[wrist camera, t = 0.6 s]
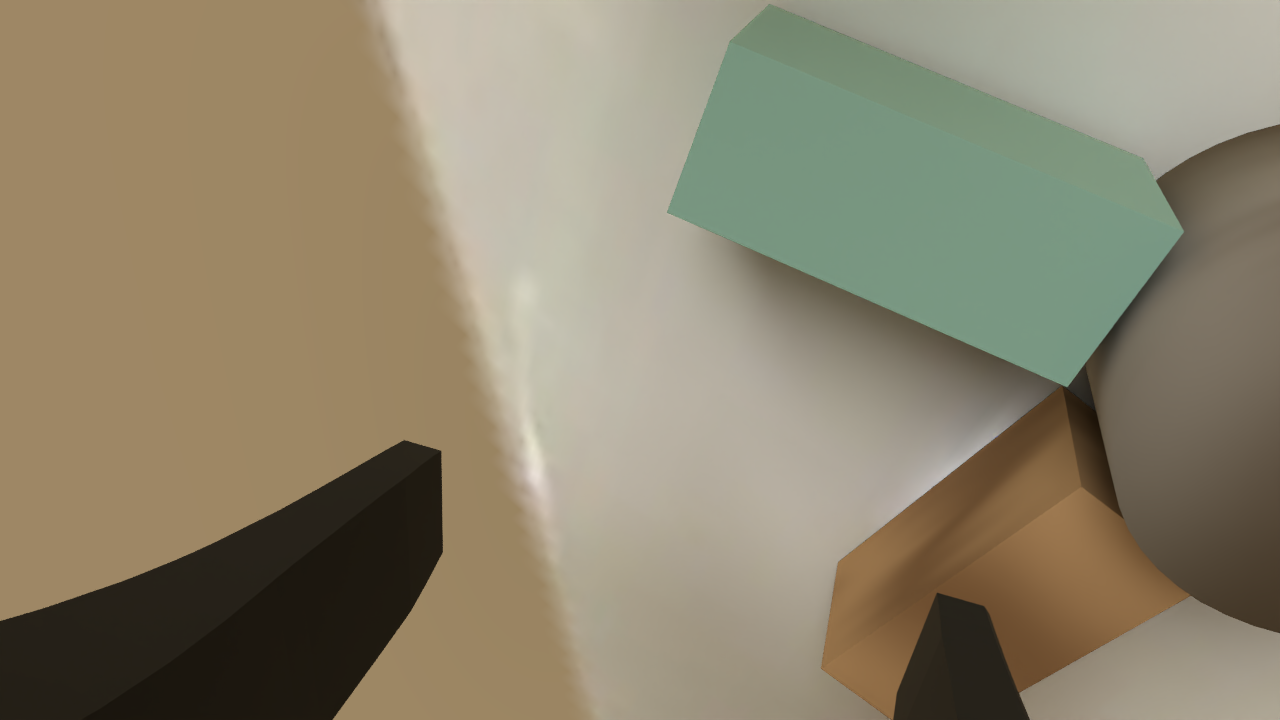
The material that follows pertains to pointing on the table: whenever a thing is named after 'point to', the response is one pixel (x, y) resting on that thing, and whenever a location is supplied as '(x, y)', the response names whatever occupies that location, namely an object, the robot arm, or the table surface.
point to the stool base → (1110, 466)
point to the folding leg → (923, 194)
